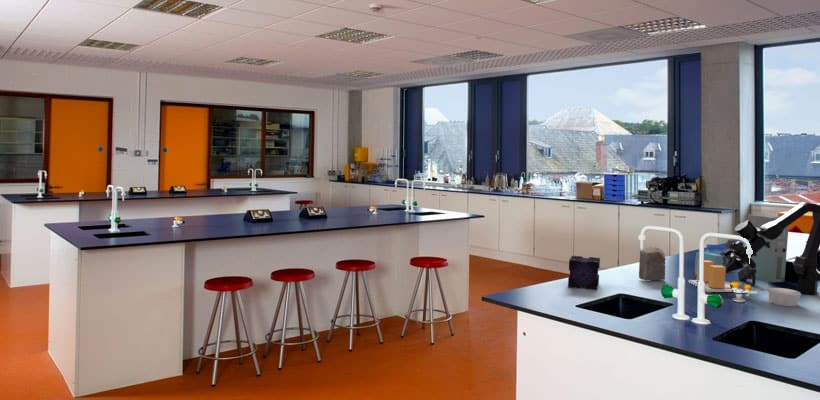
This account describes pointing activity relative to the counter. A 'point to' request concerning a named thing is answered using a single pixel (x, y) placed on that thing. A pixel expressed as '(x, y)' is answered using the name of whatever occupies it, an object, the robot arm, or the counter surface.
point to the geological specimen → (652, 264)
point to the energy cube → (584, 272)
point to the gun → (747, 274)
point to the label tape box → (717, 251)
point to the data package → (709, 259)
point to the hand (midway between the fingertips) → (723, 272)
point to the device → (770, 253)
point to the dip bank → (710, 289)
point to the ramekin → (783, 296)
